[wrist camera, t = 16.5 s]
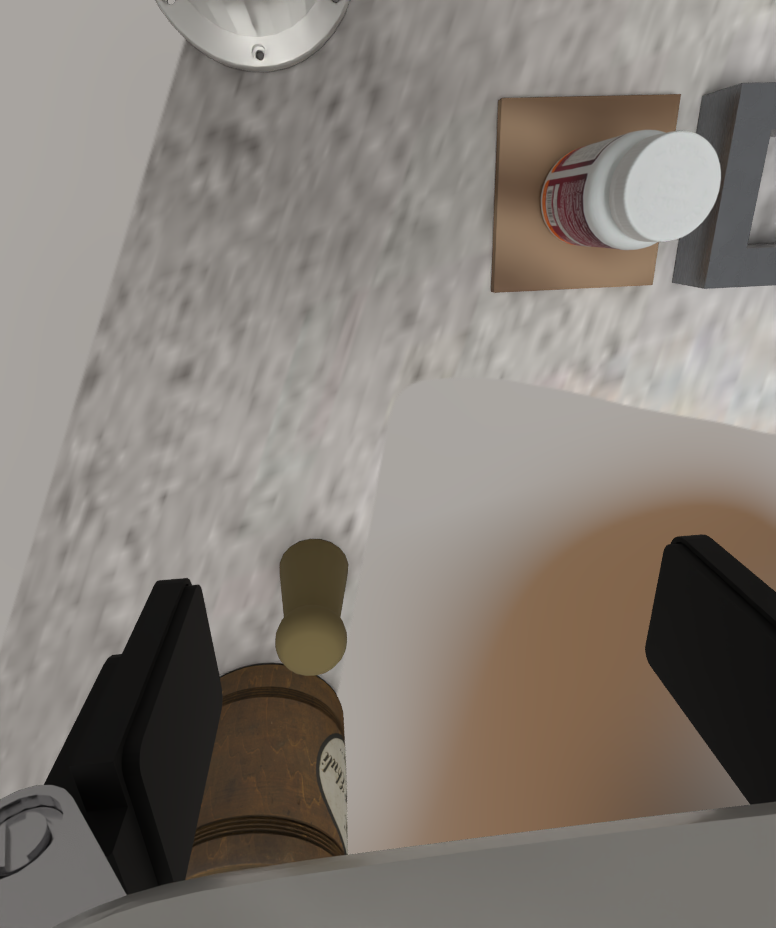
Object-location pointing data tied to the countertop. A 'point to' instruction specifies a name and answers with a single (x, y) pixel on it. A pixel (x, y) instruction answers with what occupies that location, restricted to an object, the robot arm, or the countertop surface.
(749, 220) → the metal collar
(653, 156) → the pill bottle
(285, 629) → the cork
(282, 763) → the wooden container
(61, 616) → the countertop surface
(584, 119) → the brown pad
